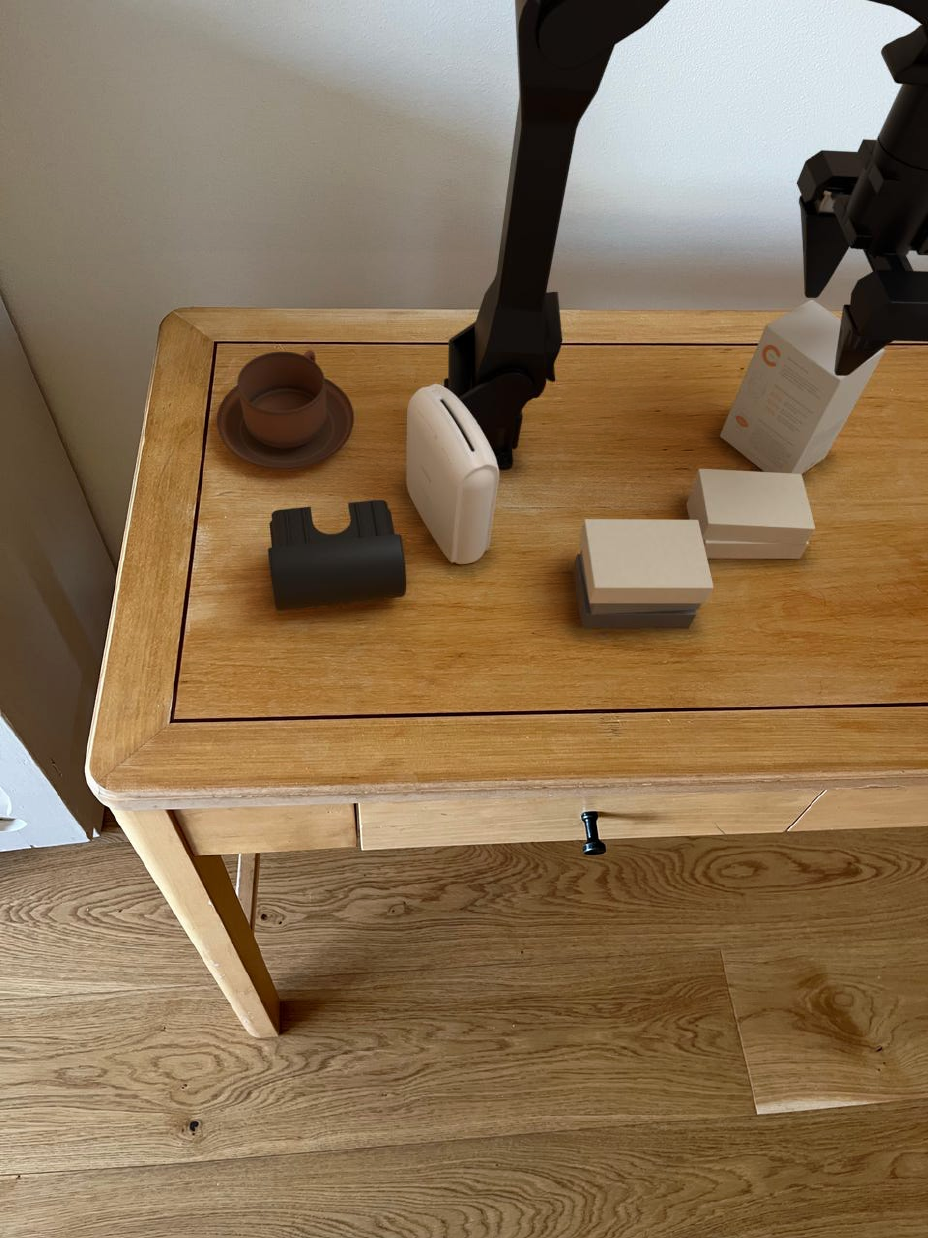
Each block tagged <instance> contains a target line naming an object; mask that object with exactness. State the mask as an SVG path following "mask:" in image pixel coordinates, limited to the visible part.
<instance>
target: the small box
mask: <svg viewBox="0 0 928 1238" xmlns="http://www.w3.org/2000/svg"><path fill="white" fill-rule="evenodd" d="M840 325H841V318H839V317H838V316H837V315H835V314H833V312H830V311H829V310H828V309H826V308H825V307H823V306H822V305H821V304H819V303H818V302H817V301H815V300H813V299H810V300H808V301H806V302H804V303H802V304H801V305H799V306H798V307H796V308H794V309H792V310H790V311H789V312H787V313H786V314H783V315H782V316H780V317H778V318H777V319H775V320H773V321H771V322H769V323H767V324H766V325H765V326H764V328H763V331H762V333H761V336H760V339H759V341H758V343H757V345H756V348H755V350H754V352H753V355H752V358H751V360H750V361H749V362H750V363H749V365H748V367H747V369H746V372H745V374H744V377H743V379H742V381H741V384H740V386H739V388H738V390H737V393H736V395H735V398H734V400H733V402H732V405H731V408H730V410H729V412H728V415H727V417H726V419H725V422H724V425H723V427H722V429H721V432H720V435H719V437H720V438H721V439H723V440H724V441H725V442H726V443H728V444H729V445H730V446H731V447H733V448H734V449H735V450H736V451H738V453H740V454H741V455H742V456H744V457H745V458H746V459H747V460H749V461H750V462H751V463H753V464H754V465H755V466H756V467H757V468H759V469H760V470H761V471H762V472H773V473H792V474H802V475H803V474H804V473H806V472H807V471H808V470H810V469H811V468H813V467H814V466H815V465H817V464H818V463H820V462H821V461H823V460H824V459H825V458H826V457H827V455H828V454H829V453H830V450H831V448H832V446H833V445H834V443H835V441H836V440H837V437H838V436H839V435H840V432H841V431H842V429H843V427H844V426H845V424H846V422H847V420H848V418H849V417H850V414H851V413H852V411H853V409H854V408H855V406H856V404H857V402H858V400H859V399H860V397H861V396H862V394H863V392H864V390H865V388H866V386H867V384H868V382H869V380H870V379H871V377H872V375H873V373H874V372H875V369H876V368H877V366H878V364H879V363H880V361H881V359H882V357H883V355H884V353H885V351H886V349H885V348H882V349H881V350H880V351H879V352H877V353H876V354H875V355H874V356H872V357H871V358H870V359H868V360H867V361H866V362H865V363H863V364H862V365H861V366H860V367H858V368H857V369H856V370H855V371H853V372H852V373H851V374H850V375H848V376H837V375H835V372H834V370H835V358H836V351H837V345H838V338H839V332H840Z"/></svg>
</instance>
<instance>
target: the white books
mask: <svg viewBox="0 0 928 1238" xmlns="http://www.w3.org/2000/svg"><path fill="white" fill-rule="evenodd" d="M691 488H692V490H691V492H690V494H689V497H688V499H687V501H686V511H687V513H688V518H689V519H688V520H698V522H699V526H700V530H701V535H702V539H703V543H704V548H705V552H706V556H707V559H747V560H749V559H751V560H752V559H753V560H754V559H755V560H756V559H757V560H759V559H760V560H761V559H762V560H763V559H764V560H765V559H766V560H767V559H768V560H770V559H771V560H776V559H777V560H782V559H783V560H799V559H801V557H802V556H803V554H804V553H805V551H806V550H807V547H808V546H809V545H810V542H809V540H810V538H811V536H812V535H813V534H814V531H815V530H816V526H815V522H814V518H813V514H812V510H811V509H812V508H811V506H810V505H811V504H810V502H809V498H808V493H807V490H806V485H805V482H804V478H803V474H792V473H773V472H764V471H751V470H736V469H735V470H734V469H733V470H732V469H715V468H714V469H712V468H698V470H697V472H696V474H695V477H694V479H693V482H692V484H691Z"/></svg>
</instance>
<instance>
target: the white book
mask: <svg viewBox="0 0 928 1238" xmlns="http://www.w3.org/2000/svg"><path fill="white" fill-rule="evenodd" d="M579 540H580V547H581V548H580V549H582V555H583V562H584V569H585V576H586V583H587V590H588V597H589V603H702V604H706V603H707V602H708V600H709V598H710V597H711V596H710V595H711V594H712V592H713V590H714V581H713V579H712V575H711V570H710V565H709V561H708V558H707V556H706V552H705V548H704V543H703V539H702V535H701V530H700V526H699V522H698V520H690V519H651V518H650V519H647V518H646V519H643V518H641V519H638V518H636V519H635V518H633V519H632V518H627V519H626V518H584V520H583V522H582V527H581V529H580V534H579Z"/></svg>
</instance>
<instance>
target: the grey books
mask: <svg viewBox="0 0 928 1238" xmlns="http://www.w3.org/2000/svg"><path fill="white" fill-rule="evenodd" d="M572 571H573V579H574V584H575V593H576V600H577V601H576V602H577V607H578V615H579V623H580V627H581V628H582V629H589V628H590V629H611V628H612V629H613V628H614V629H620V628H621V629H623V628H625V629H629V628H630V629H636V628H637V629H640V628H641V629H642V628H643V629H645V628H647V629H651V628H652V629H653V628H654V629H655V628H656V629H657V628H658V629H659V628H661V629H663V628H668V629H669V628H670V629H671V628H676V629H678V628H680V629H681V628H683V629H684V628H686V629H688V628H691V626H692V624H693V622H694V620H695V618H696V616H697V610H699V609H700V607H701V605H702V604H703V603H589V597H588V590H587V583H586V576H585V569H584V562H583V555H582V548H580V553H577V554H576V556H575V560H574V562H573V567H572Z"/></svg>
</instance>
